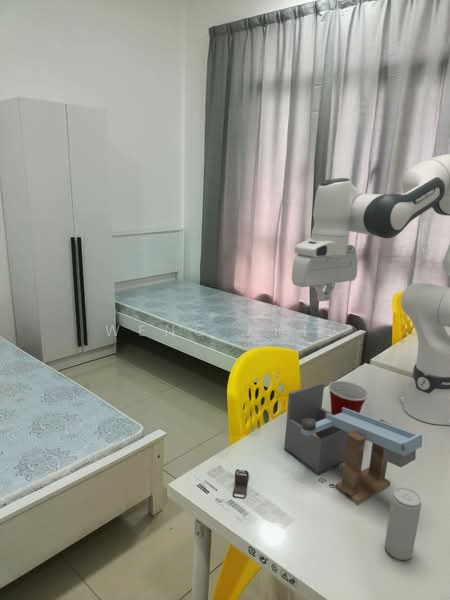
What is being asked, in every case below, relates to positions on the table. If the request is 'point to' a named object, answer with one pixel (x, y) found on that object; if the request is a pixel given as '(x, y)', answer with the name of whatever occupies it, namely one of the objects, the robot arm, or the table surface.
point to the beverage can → (402, 523)
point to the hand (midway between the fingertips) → (323, 300)
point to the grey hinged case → (241, 483)
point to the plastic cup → (346, 396)
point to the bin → (314, 448)
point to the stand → (367, 480)
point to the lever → (371, 434)
